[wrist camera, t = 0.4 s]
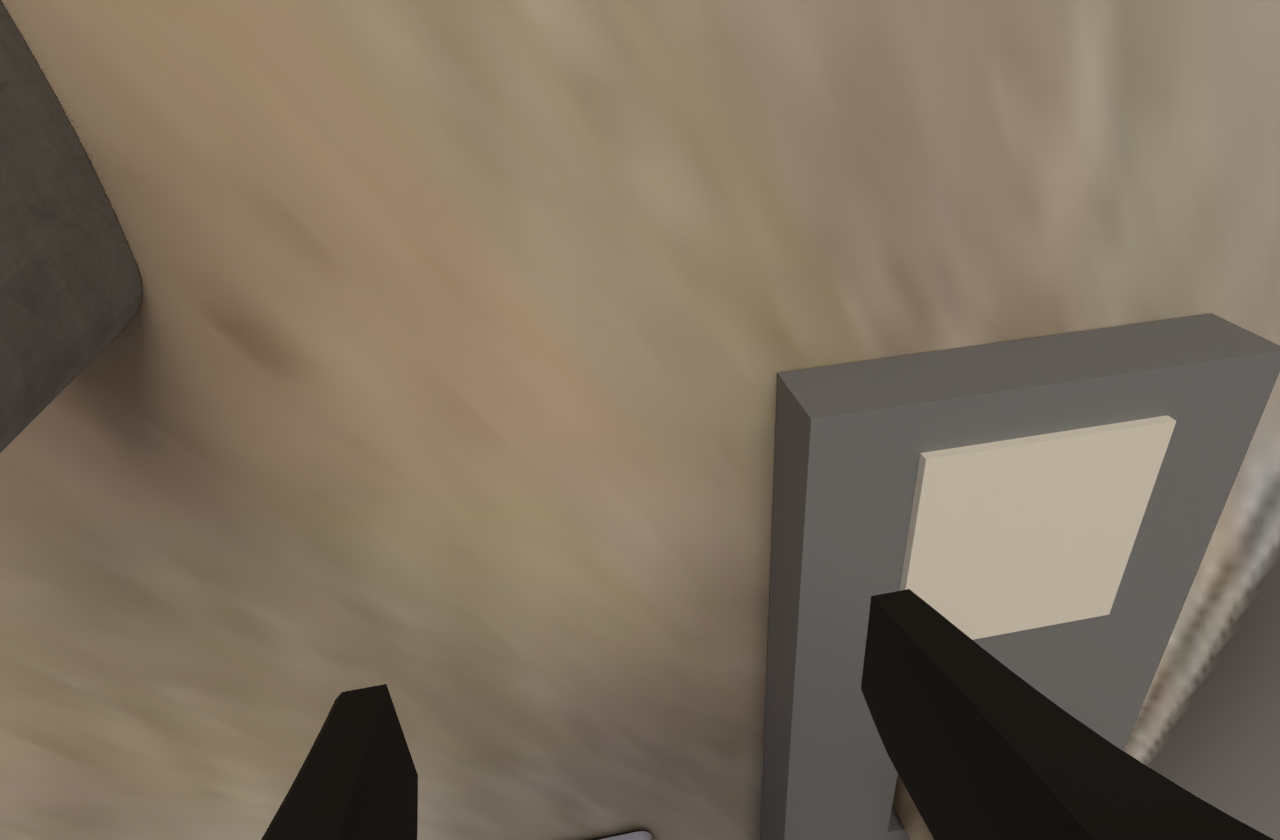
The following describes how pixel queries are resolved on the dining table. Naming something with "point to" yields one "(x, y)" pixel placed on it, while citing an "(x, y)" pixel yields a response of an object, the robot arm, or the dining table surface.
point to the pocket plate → (992, 531)
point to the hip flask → (51, 246)
